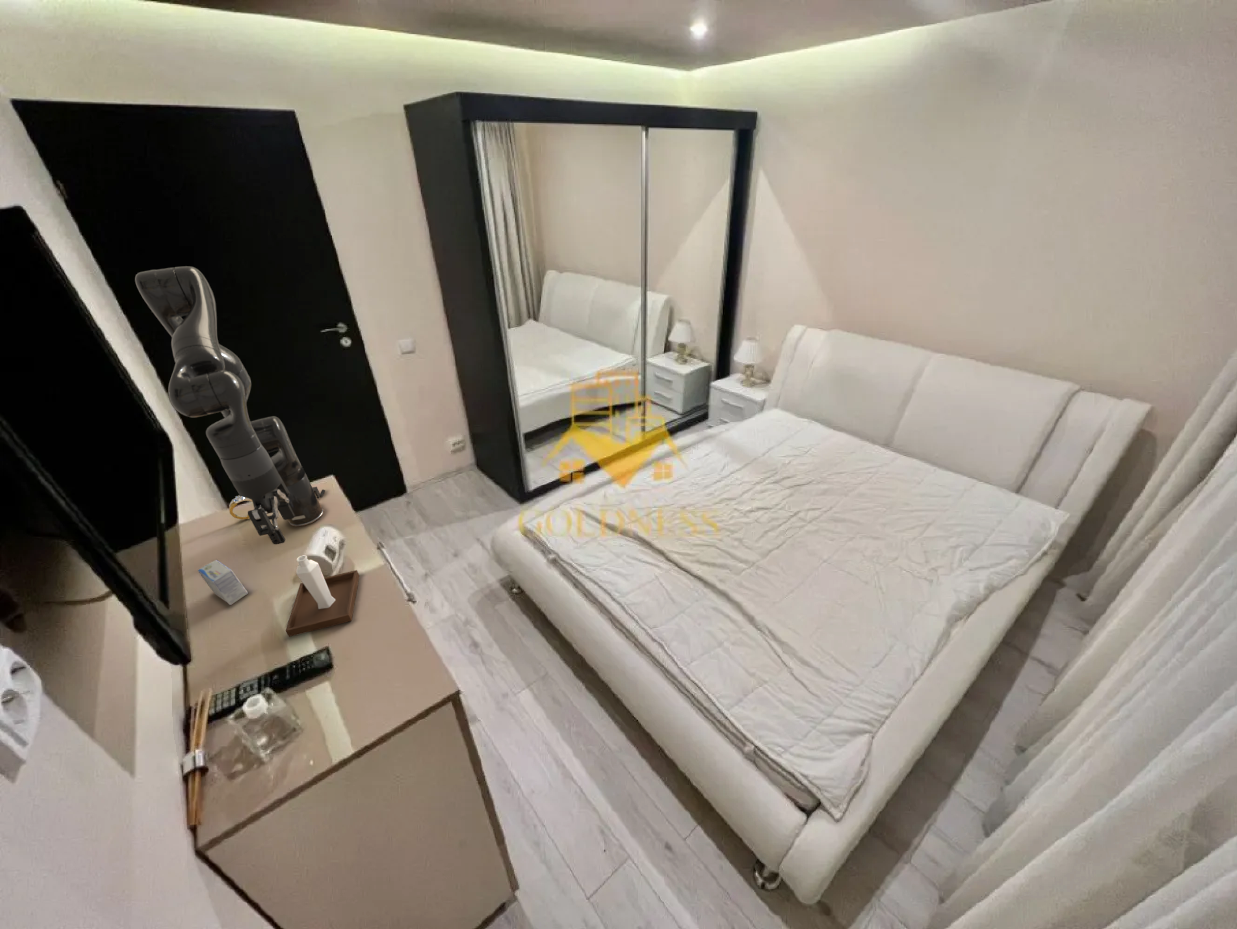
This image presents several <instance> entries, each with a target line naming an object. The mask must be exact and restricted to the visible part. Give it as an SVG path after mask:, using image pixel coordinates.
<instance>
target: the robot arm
mask: <svg viewBox="0 0 1237 929" xmlns="http://www.w3.org/2000/svg"><path fill="white" fill-rule="evenodd" d="M134 282H135V285H136V288H137V290H138V292H139V294H140V295H141V297H142V299H143V300H144V302H145V304H146V305H147V307H148V308H149V309H150V310H151V313H153V315H154V316H155V317H156V318H157V320H158V321H159V323H160V324H161V325H162V326H163V328H164V329H165V330H166V332H167V333H168V334H169V336H170V337H171V342H170V346H171V351H172V356H173V360H174V363H175V364H174V366H173V370H172V373H171V377H170V380H169V383H168V389H167V390H168V392H167V394H168V398H169V402H170V404H171V405H172V407H173V408H174V409H175V411H177V412H178V413H179V414H181V415H182V416H185V417H187V418H188V417H189V418H200V417H205V416H209V415H213V414H216V413H221V414H222V416H223V418H222V419H220V420H218V421H216V422H214V423H212V424H211V425H209V426H208V427H207V428H206V430H205V435H206V438H207V439H208V441H209V443H210V445H211V446H212V448H213V450H214V452H215V453H216V455H217V456H218V458H219V460H220V463H221V466H222V469H223V470H224V471H225V473H226V475H227V476H228V478H229V480H230V482H231V483H232V485H233V487H234V488H235V490H236V491H237V494H238V496H239V495H240V496H242V497H245V498H249V499H251V500H252V502H251V503H252V505H253V509H251V510H250V509H249V510H247V515H248V516H249V517H250V519H249V520H251V523H252V525H253V527H254V528H255V530H256V532H257V533H258V535H259V536H260V537H261V536H266V535H267V536H268V538H269V539H270V541H271V543H272V545H274V546H276V545H281V544H284V543H285V542H286V538H285V535H284V534H283V532H282V530H281V528H280V527H279V523H278V519H279V517H280V516H281V519H282V520H283V521H287V522H288V523H289V525H290V526H292V527H296V528H297V527H298V528H299V527H306V526H309V525H311V524H313V523H315V522H316V521H318V520H320V518H322V517H323V515H324V514H325V511H324V508H323V507H322V505H321V503H320V501H319V499H320V498H322V497H323V496H324V495H325V493H326V489H321V491H320V490H319V488H318V487H317V486H312V484H311V481H310V480H309V478H308V475H307V474H306V472H305V470H304V468H303V466H302V464H301V462H300V460H299V457H298V455H297V454H296V451H295V449H294V447H293V445H292V442H291V439H290V437H289V434H288V432H287V430H286V427H285V425H284V423H283V422H282V421H281V419H280V418H279V417H277V416H276V415H271V416H265V417H261V418H258V419H254V420H251V419H250V417H249V411H248V406H247V402H248V399H249V397H250V393H251V389H252V380H251V377H250V375H249V374H248V371H247V369H246V368H245V366H244V364H243V363H242V361H241V358H240V357H238V355H237V354H235V353H234V352H233V351H232V350H230V349H228V348H227V347H225V346H223V345H222V344H220V343H219V340H218V316H217V315H218V314H217V303H216V298H215V295H214V292H213V290H212V288H211V286H210V283H209V282H208V280H207V278H206V277H205V275H204V274H203V273H202V272H201V271H200V270H199V269H198V268H196V267H194V266H190V265H189V266H187V265H185V266H175V267H173V266H172V267H166V268H158V269H150V270H144V271H140V272H137V274H135V277H134ZM182 317H184V318H182ZM275 451H277V452H276V453H275V454H273V456H270V455H269V453H272V452H275ZM268 514H271V515H268Z"/></svg>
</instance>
